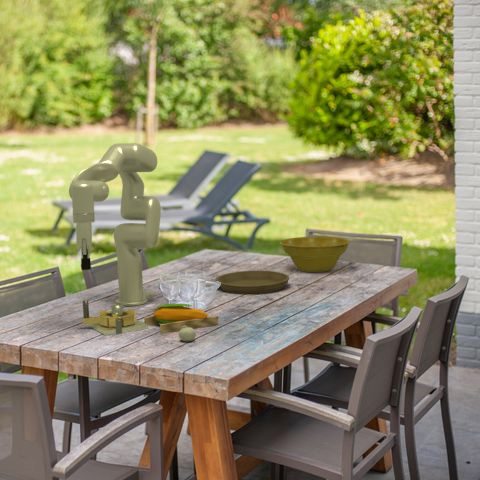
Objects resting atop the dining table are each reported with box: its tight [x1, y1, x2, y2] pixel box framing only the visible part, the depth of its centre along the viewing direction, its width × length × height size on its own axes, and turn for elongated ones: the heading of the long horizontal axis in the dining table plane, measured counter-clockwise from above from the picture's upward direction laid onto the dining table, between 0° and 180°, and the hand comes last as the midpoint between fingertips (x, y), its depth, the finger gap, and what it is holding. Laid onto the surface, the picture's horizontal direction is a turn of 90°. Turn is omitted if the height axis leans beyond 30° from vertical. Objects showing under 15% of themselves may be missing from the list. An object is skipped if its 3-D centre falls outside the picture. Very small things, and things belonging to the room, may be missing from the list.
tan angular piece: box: [82, 299, 137, 327], centre depth 340 cm, size 18×12×8 cm
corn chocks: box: [143, 308, 219, 335], centre depth 341 cm, size 22×14×3 cm, turn 119°
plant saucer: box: [214, 270, 290, 295], centre depth 404 cm, size 31×31×5 cm
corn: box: [153, 303, 209, 324], centre depth 341 cm, size 7×8×20 cm
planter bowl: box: [278, 236, 351, 273], centre depth 439 cm, size 32×32×13 cm
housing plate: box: [87, 303, 149, 336], centre depth 339 cm, size 16×17×8 cm
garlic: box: [178, 325, 197, 343], centre depth 319 cm, size 6×5×5 cm
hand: (86, 269), depth 342 cm, fingers closed
